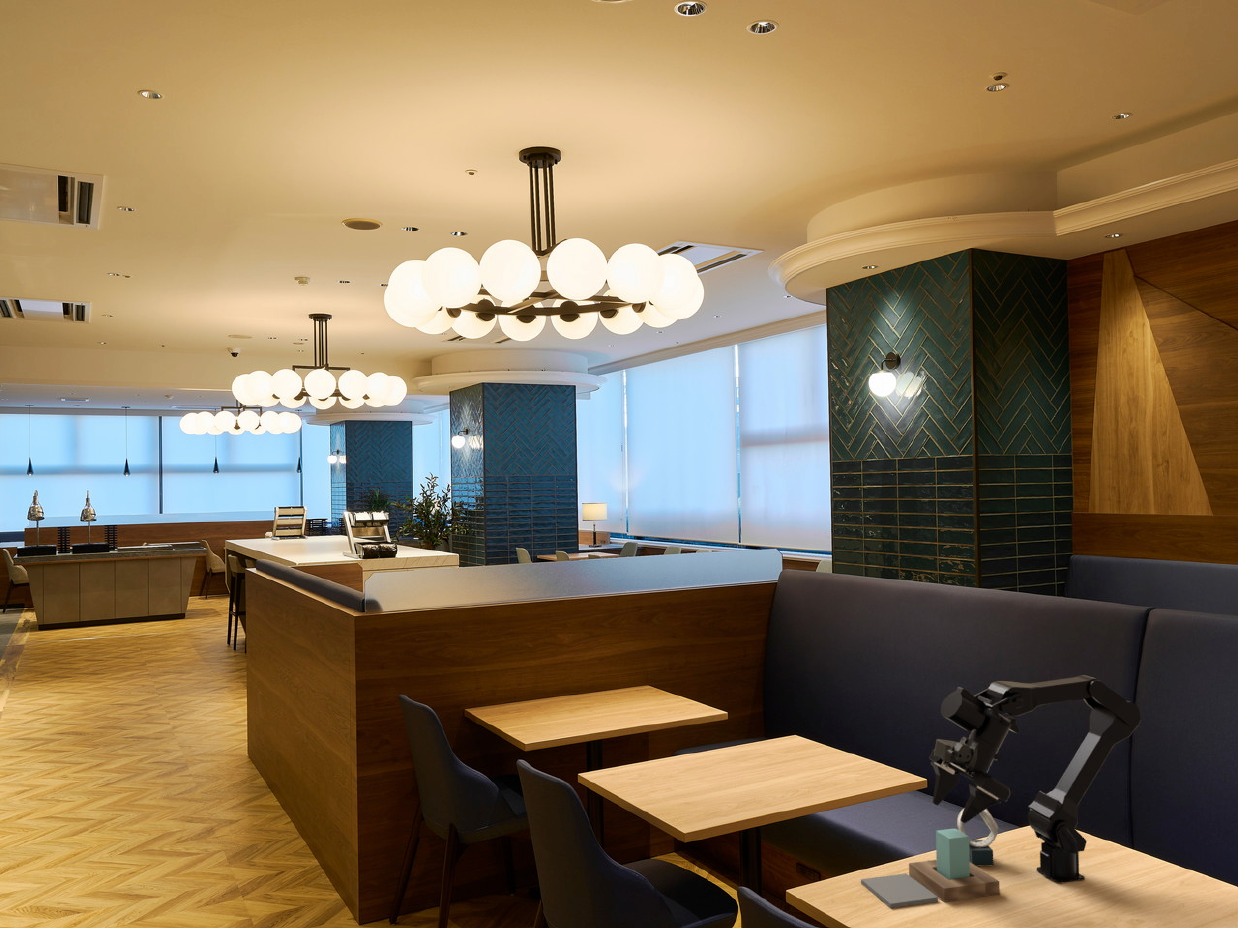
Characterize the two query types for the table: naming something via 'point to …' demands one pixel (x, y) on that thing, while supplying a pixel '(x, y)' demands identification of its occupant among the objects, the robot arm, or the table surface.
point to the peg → (952, 854)
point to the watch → (981, 841)
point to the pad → (899, 890)
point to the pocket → (954, 882)
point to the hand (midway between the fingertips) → (948, 812)
